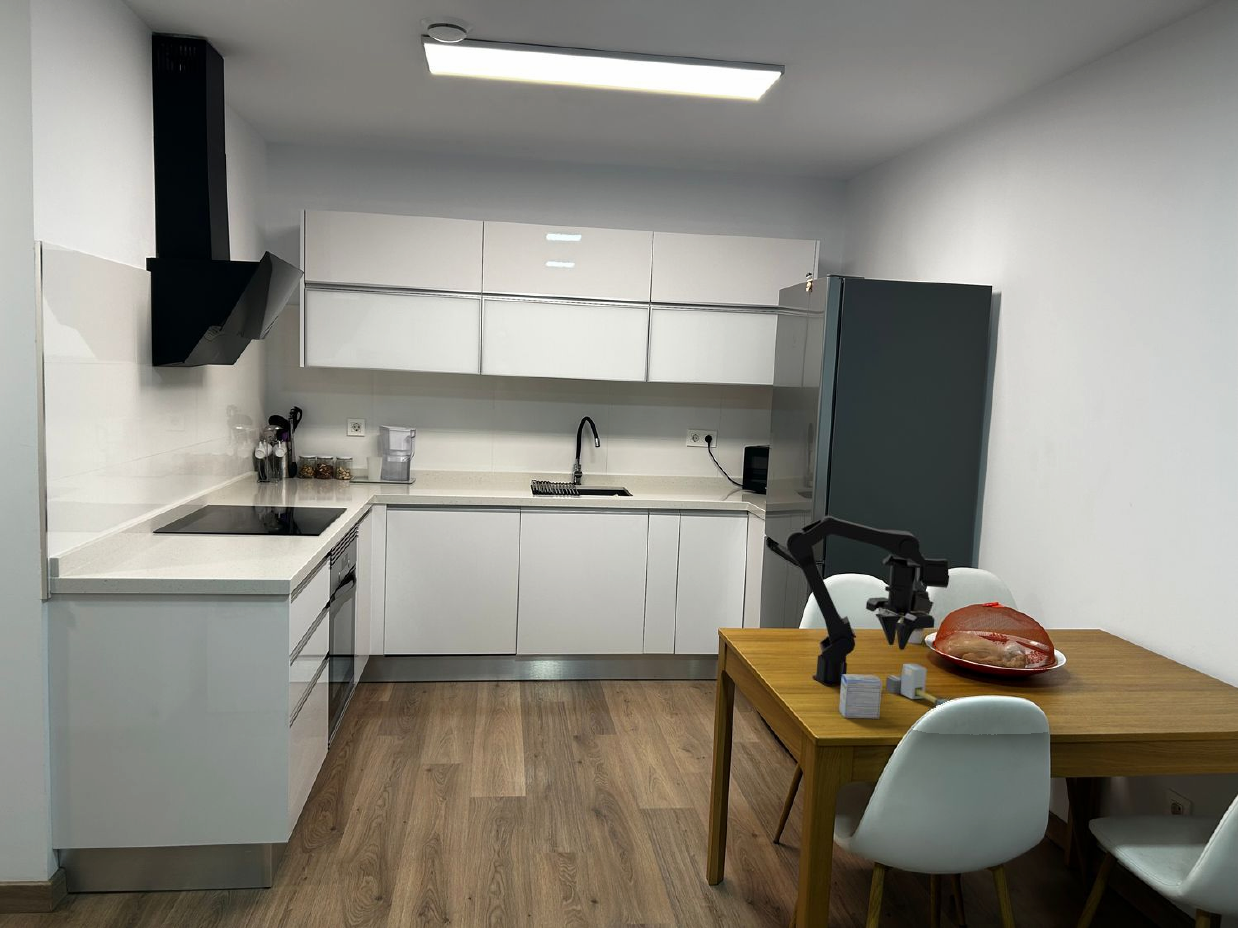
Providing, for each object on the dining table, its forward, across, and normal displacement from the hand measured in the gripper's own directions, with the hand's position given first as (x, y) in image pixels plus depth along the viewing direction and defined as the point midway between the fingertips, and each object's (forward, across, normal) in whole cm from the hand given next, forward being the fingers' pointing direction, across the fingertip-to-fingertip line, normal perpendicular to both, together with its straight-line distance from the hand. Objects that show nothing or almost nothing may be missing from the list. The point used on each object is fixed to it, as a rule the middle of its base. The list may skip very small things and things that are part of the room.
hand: (896, 647), depth 224 cm
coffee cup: (+10, +32, -32) cm, 47 cm away
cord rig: (+10, -10, 0) cm, 14 cm away
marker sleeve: (+10, -7, 0) cm, 12 cm away
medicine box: (+10, -14, +20) cm, 26 cm away
